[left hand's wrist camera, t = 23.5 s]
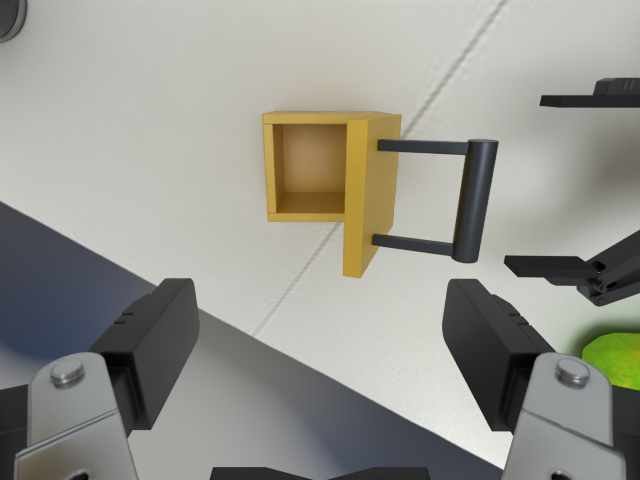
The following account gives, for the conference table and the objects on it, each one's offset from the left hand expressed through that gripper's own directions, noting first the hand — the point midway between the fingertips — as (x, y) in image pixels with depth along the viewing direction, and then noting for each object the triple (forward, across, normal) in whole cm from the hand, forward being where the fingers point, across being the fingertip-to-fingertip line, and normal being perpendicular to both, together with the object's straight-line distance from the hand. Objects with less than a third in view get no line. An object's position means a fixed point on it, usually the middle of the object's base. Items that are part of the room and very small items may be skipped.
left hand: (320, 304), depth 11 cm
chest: (+33, -1, 0) cm, 33 cm away
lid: (+17, -4, 0) cm, 17 cm away
